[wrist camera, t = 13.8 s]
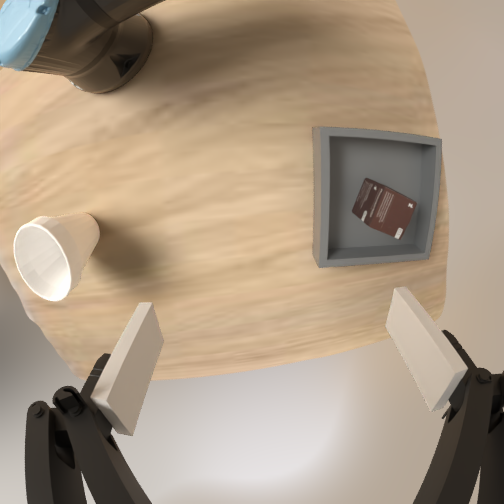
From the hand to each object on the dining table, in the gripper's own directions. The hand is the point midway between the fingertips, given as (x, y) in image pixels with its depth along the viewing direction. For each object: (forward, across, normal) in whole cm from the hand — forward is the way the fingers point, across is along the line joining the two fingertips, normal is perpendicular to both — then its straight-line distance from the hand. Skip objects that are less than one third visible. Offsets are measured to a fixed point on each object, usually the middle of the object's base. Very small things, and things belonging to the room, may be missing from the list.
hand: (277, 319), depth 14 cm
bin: (+29, +18, 0) cm, 34 cm away
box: (+28, +18, -1) cm, 33 cm away
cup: (+29, -31, -3) cm, 42 cm away
